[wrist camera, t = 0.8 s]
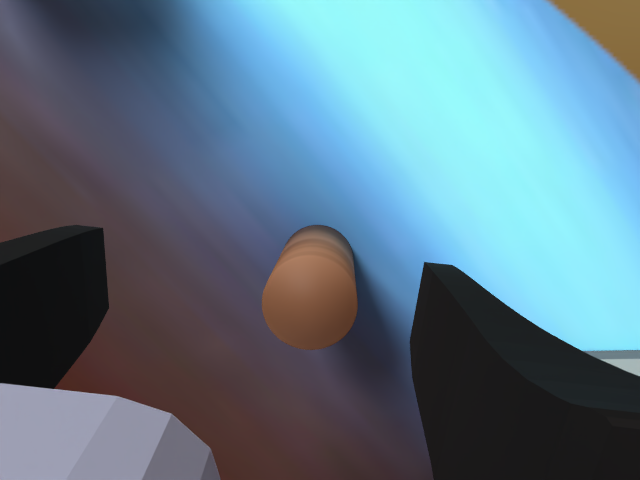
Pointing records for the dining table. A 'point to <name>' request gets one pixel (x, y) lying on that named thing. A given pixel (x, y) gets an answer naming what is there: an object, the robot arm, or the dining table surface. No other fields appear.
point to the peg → (312, 289)
